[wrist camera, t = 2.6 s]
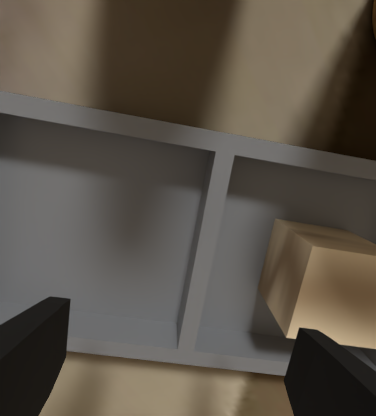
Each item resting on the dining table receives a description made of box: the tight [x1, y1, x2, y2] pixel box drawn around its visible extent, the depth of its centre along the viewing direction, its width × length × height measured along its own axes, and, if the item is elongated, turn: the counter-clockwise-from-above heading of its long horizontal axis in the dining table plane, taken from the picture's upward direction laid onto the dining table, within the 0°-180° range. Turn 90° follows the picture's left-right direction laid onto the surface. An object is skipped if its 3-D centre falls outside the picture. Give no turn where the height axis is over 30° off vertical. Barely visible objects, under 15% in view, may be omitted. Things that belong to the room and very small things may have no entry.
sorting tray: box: [0, 91, 376, 376], centre depth 17 cm, size 14×28×3 cm, turn 80°
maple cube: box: [258, 219, 376, 349], centre depth 16 cm, size 5×5×5 cm
